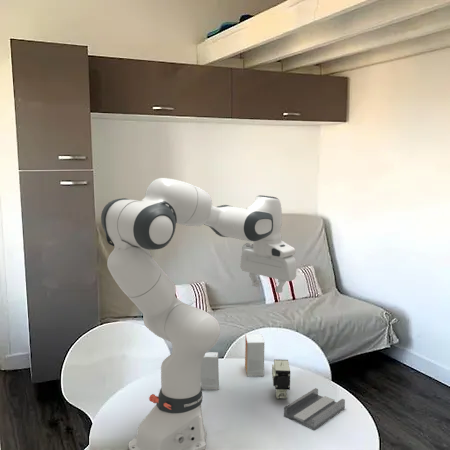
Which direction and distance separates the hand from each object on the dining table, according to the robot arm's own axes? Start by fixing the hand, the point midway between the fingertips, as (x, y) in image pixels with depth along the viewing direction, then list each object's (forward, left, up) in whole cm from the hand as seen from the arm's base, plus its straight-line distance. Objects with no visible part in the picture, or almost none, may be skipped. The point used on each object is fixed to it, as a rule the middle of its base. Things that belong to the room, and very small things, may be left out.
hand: (267, 289), depth 162 cm
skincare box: (-8, +18, -37) cm, 42 cm away
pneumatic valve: (+4, -3, -37) cm, 37 cm away
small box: (+12, +15, -37) cm, 42 cm away
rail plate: (+3, -17, -37) cm, 41 cm away
